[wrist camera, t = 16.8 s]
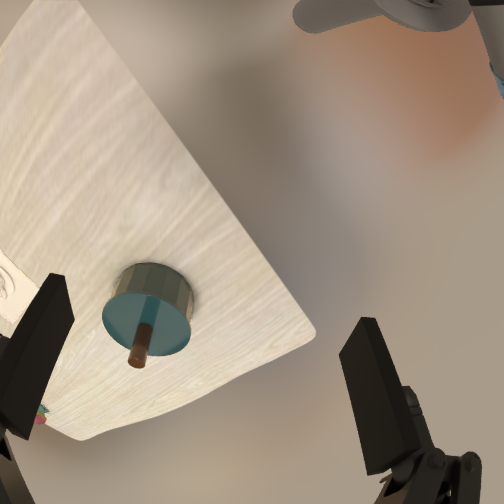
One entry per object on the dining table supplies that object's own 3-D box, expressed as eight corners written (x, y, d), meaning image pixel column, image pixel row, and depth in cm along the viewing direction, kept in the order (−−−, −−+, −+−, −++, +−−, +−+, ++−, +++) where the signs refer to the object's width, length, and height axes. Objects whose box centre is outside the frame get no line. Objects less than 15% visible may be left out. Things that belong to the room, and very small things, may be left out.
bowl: (140, 248, 48) (128, 277, 42) (208, 291, 53) (205, 323, 47) (106, 295, 53) (94, 325, 47) (167, 330, 59) (161, 361, 53)
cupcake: (25, 400, 82) (16, 427, 72) (34, 398, 80) (24, 426, 70) (43, 413, 86) (35, 439, 76) (53, 410, 84) (44, 438, 74)
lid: (127, 271, 42) (110, 312, 35) (209, 320, 48) (206, 363, 41) (92, 322, 48) (77, 360, 41) (162, 361, 54) (156, 399, 47)
